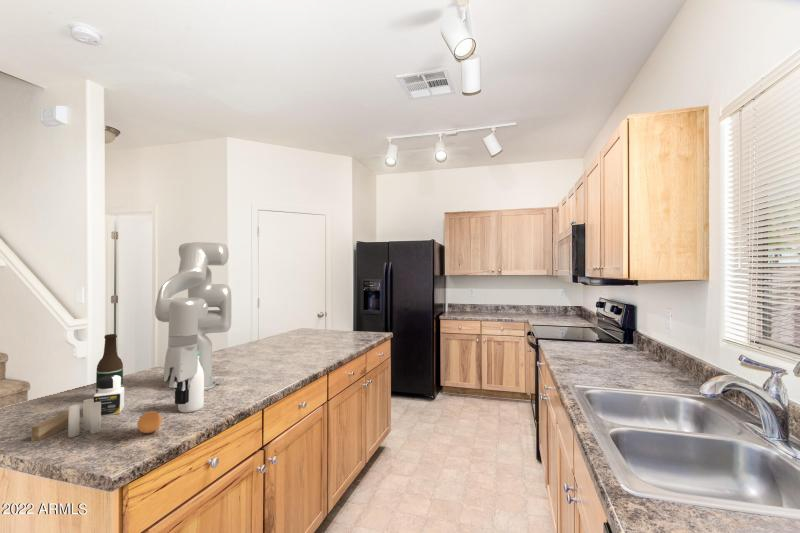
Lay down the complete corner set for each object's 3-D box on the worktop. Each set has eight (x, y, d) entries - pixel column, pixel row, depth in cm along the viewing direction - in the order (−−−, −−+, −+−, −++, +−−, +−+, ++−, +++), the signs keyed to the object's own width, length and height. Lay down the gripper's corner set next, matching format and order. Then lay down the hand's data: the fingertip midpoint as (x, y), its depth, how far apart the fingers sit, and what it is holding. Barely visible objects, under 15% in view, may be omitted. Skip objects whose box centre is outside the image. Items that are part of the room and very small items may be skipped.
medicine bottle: (92, 417, 120) (93, 380, 120) (98, 410, 126) (99, 375, 126) (119, 414, 123) (120, 378, 123) (124, 406, 129) (124, 372, 130)
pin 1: (79, 432, 109) (80, 404, 109) (77, 436, 107) (78, 406, 107) (69, 434, 107) (69, 405, 107) (67, 438, 105) (67, 408, 105)
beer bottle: (107, 403, 132) (109, 336, 132) (90, 402, 133) (91, 335, 134) (127, 396, 140) (129, 333, 140) (110, 395, 141) (112, 332, 141)
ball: (162, 426, 114) (162, 406, 114) (161, 433, 109) (161, 413, 109) (138, 430, 111) (138, 410, 111) (136, 438, 106) (136, 417, 106)
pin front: (101, 429, 111) (101, 401, 111) (99, 432, 109) (100, 403, 109) (91, 431, 110) (91, 402, 110) (89, 434, 108) (89, 405, 108)
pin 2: (93, 425, 114) (94, 398, 114) (92, 428, 112) (92, 400, 112) (83, 427, 112) (84, 399, 112) (81, 430, 110) (82, 401, 110)
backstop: (75, 423, 115) (76, 410, 115) (38, 440, 103) (39, 426, 103) (69, 423, 115) (69, 410, 115) (31, 440, 103) (31, 426, 103)
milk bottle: (208, 406, 131) (209, 350, 131) (189, 414, 123) (190, 354, 123) (192, 403, 133) (193, 348, 133) (172, 411, 126) (173, 352, 126)
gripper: (184, 337, 117) (183, 395, 117) (153, 345, 102) (152, 412, 102) (208, 337, 117) (207, 395, 117) (181, 345, 102) (179, 412, 102)
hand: (181, 403), depth 109 cm, fingers closed
